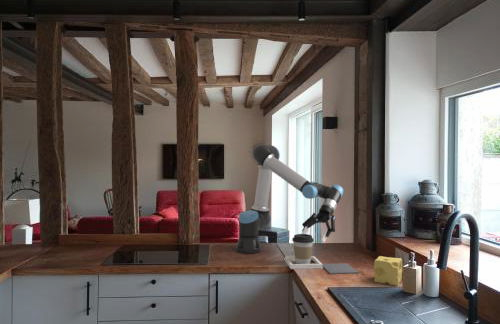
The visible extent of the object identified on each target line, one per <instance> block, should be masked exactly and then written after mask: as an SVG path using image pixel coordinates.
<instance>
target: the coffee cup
mask: <svg viewBox="0 0 500 324" xmlns="http://www.w3.org/2000/svg"><path fill="white" fill-rule="evenodd" d="M314 242H315V241H314V238H313V235H311V234H307V233H306V234H301V233H297V234H294V235H293V237H292V244H293V250H294V257H295V261H294V262H295V264H311V262H312V260H311V256H312V253H313V252H312V251H313V246H314V245H313V244H314Z"/></svg>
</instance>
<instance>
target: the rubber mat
mask: <svg viewBox="0 0 500 324" xmlns="http://www.w3.org/2000/svg"><path fill="white" fill-rule="evenodd" d="M322 264H323V268H322V269H323V270H325V271H326V272H327V273H328V274H329V275H347V274H352V275H353V274H355V275H356V274H359V271H358V270H356V269H355V268H354V267H352V266H351V265H350V264H349V263H346V262H345V263H344V262H343V263H341V262H340V263H322Z"/></svg>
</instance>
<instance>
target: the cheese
mask: <svg viewBox="0 0 500 324" xmlns="http://www.w3.org/2000/svg"><path fill="white" fill-rule="evenodd" d="M373 265H374V267H373V270H374V271H373V275H374V277H373V279H374V282H375V283H379V284H389V285H391V286H396V287H398V286H399V284H400V282H402V279H403V259H402V258H401V257H400V258H399V257H390V256H389V257H387V256H382V255H379V256H378V257H377V258H376V259H375V260H374V261H373Z"/></svg>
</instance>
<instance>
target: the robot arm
mask: <svg viewBox="0 0 500 324" xmlns="http://www.w3.org/2000/svg"><path fill="white" fill-rule="evenodd" d="M251 154H252V158H253V160H254V161H255V162H256V163H257V165H256V166H257V167H258V174H257V182H256V188H255V195H254V196H255V197H254V204H253V205H252V206H251V207H250V210H244V211H241V212H240V213H239V215H238V239H237V242H236V243H237V244H236V246H235V252H237V253H241V254H257V253H260V252H261V251H262V246H261V243H260V240H259V231H261V230H264V229H266V228H267V227H268V226H269V225H270V224H271V220H272V219H271V218H272V217H271V215H270V208H269V199H270V190H271V185H272V183H271V182H272V179H273V178H272V177H273V173H274V174H275V175H276V176H278V177H279V178H281V179H282V180H284V181H285V183H287V184H289V185H291V186H292V187H293V188H295V190H298V191H299V192H300V193H301V194H302V196H303V197H304V198H305V199H307V200H308V199H310V200H312V199H314V198H320V199H324V201H323V202H322V204H321V206H320V208H319V210H318V213H315V212H313V213H312V214H311V215H310V216H309V218H307V219H306V220H305V221H304V222H302V224H301V225H302V227H303V228H302V230H301V233H300V234H307V233H308V231H309V228H311V227H313V226H314V225H316V224H319V223H322V224H325V225H326V229H325V231H324V233H323V234H322V237H321V239H320V240H321V242H322V243H324V244H325V243H326V240H327V239H328V238H329V236H331V233H335V232H336V217H335V215H334V212H335V210H336V208H337V207H338V204H339V202H340V200H341V199H342V197H343V194H344V188H343V187H342V186H341V185H339V184H332V185H331V186H327V185H325V184H321V183H319V182H314V181H309V180H307V178H305V177H304V176H303V175H301V174H299V173H298V172H296V171H295V170H293V169H292V168H291V167H289V166H288V165H287V164H285V163H284V162H282V161H280V155H281V153H280V150H279V149H278V148H277V147H276V146H275V145H272V144H262V143H261V144H258V145H256V146H255V147H254V148H253V150H252V152H251ZM329 221H330V222H329Z"/></svg>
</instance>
